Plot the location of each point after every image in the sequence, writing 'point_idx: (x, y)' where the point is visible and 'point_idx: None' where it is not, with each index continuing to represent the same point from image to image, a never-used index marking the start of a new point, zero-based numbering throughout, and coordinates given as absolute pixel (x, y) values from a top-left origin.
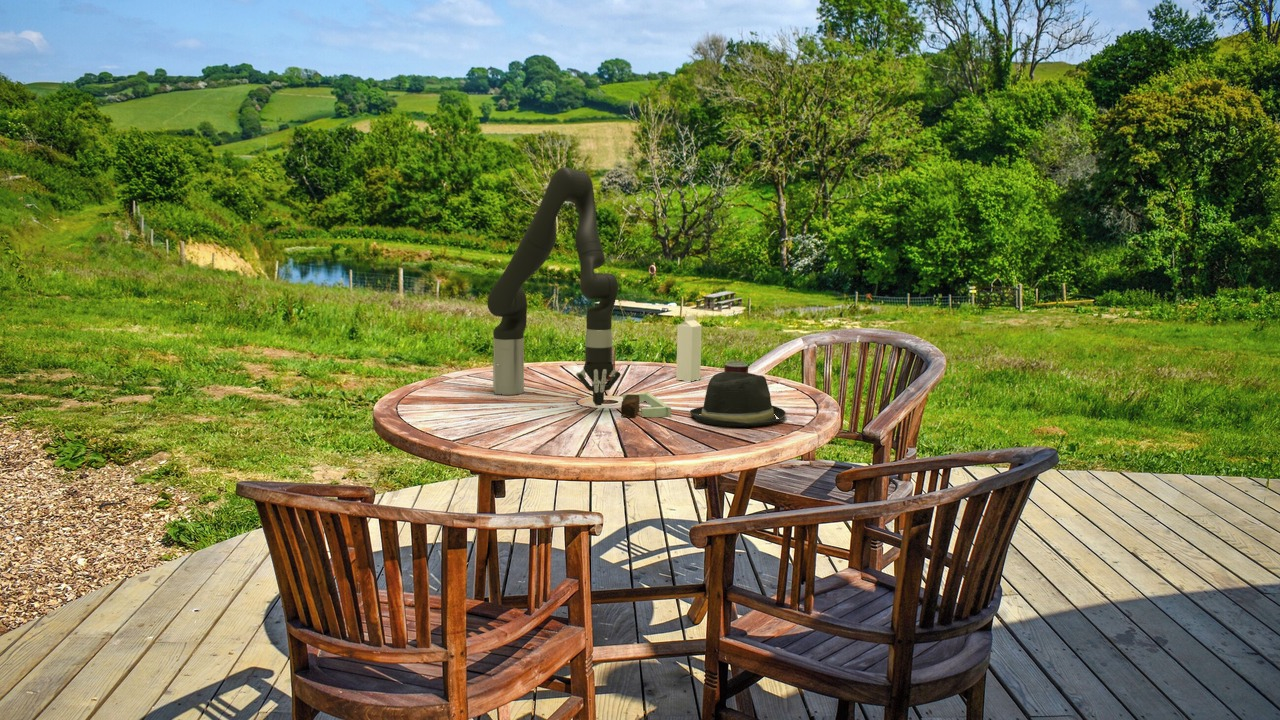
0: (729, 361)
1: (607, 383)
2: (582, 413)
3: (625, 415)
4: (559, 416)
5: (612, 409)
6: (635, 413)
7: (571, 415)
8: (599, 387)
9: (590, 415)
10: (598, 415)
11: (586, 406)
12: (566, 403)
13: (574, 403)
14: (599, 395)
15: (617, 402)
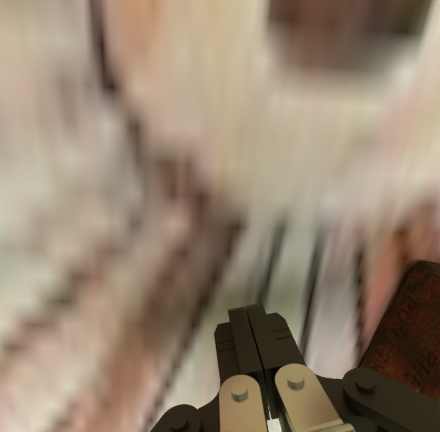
0: None
1: (392, 424)
2: (145, 347)
3: None
4: (17, 408)
5: (331, 258)
6: None
7: (83, 388)
8: (291, 407)
9: (188, 386)
10: None
11: (173, 165)
12: (4, 38)
13: (76, 45)
14: (267, 401)
15: (420, 36)
